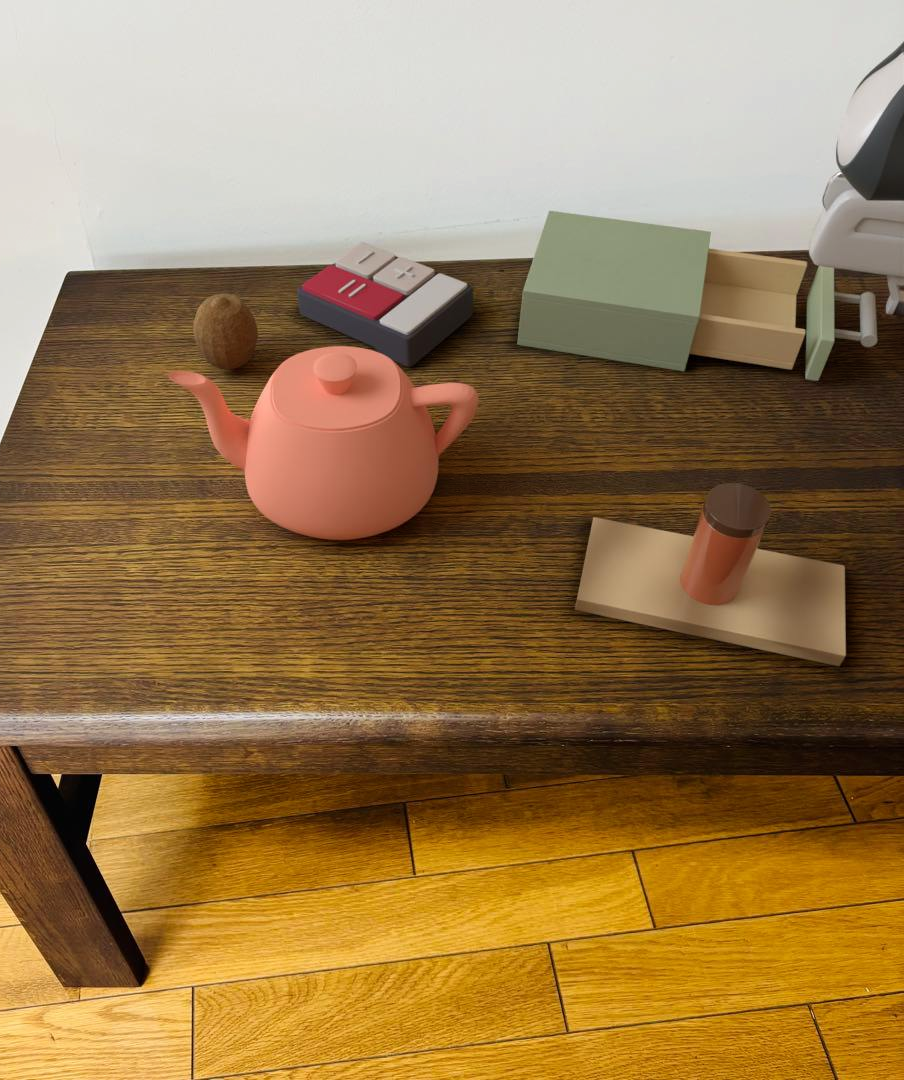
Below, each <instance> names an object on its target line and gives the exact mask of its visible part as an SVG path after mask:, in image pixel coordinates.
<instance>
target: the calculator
mask: <svg viewBox="0 0 904 1080" xmlns="http://www.w3.org/2000/svg"><path fill="white" fill-rule="evenodd" d="M296 294H297V303H298V308H299V314H300V315H301V316H303V317H304V318H308V319H309V320H311V321H314V322H317V323H318V324H320V325H323V326H325V327H327V328H330V329H332V330H334V331H336V332H338V333H341V334H343V335H346V336H348V337H349V338H352V339H354V340H357V341H359V342H362V343H363V344H366V345H368V346H370V347H371V348H374V349H375V351H376V352H379V353H381V354H383V355H385V356H387V357H389V358H390V359H391V360H393V361H394V362H395V363H398V364H400V365H402V366H404V367H407V368H411V367H413V366H415V365H416V364H417V363H418V362H420V361H421V360H422V359H423V358H425V356H427V354H429V353H430V352H431V351H433V350H434V349H435V348H436V347H437V346H439V344H441V343H442V342H443V341H445V339H447V338H448V337H449V336H450V335H451V334H453V333H454V332H455V331H456V330H458V328H460V327H462V325H463V324H464V323H465V322H467V321H468V320H469V319H470V318H472V317H473V314H474V286H473V285H472V284H470V283H468V282H465V281H462V280H460V279H457V278H455V277H452V276H449V275H446V274H444V273H441V272H438V271H436V270H435V269H434V268H431V267H429V266H426V265H424V264H422V263H419V262H416V261H414V260H412V259H409V258H406V257H403V256H397V255H396V254H395V253H393V252H390V251H388V250H384V249H382V248H380V247H377V246H374V245H372V244H370V243H366V242H364V241H363V242H360V243H359V244H357V245H356V246H355V247H353V248H352V249H350V250H348V251H347V252H346V253H345V254H343V255H342V256H341V257H339V258H338V259H336V260H335V262H334V263H332V264H329V265H327V266H326V267H325V268H324V269H322V270H321V271H320V272H318V273H317V274H316V275H314V276H313V277H311V278H309V279H308V280H307V281H305V282H304V283H303V284H302V286H300V287H299V288H298V289H297V290H296Z"/></svg>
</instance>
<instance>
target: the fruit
mask: <svg viewBox="0 0 904 1080" xmlns="http://www.w3.org/2000/svg"><path fill="white" fill-rule="evenodd" d="M192 329H193V338H194V340H195V345H196V347H197V349H198V351H199V353H200V355H201V357H203V358H204V359H205V360H206V361H207V362H208V363H209V365H211V366H212V367H215V368H216V369H217V368H218V369H221V370H234V369H238V368H240V367H242V366H244V365H246V364H247V363H248V362H249V361H250V359H251V358H252V357H253V354H254V352H255V349H256V346H257V342H258V338H259V337H258V336H259V335H258V327H257V322H256V319H255V316H254V313H253V312H252V310H251V308H250V307H249V306H248V305H247V303H246V302H245V301H243V300H242V299H240V298H239V297H237V296H236V295H233V294H230V293H217V294H213V295H212V296H210V297H207V298H206V299H205V300H204V301H202V303H201V304H200V305H199V306H198V309H197V311H196V314H195V316H194V320H193V325H192Z"/></svg>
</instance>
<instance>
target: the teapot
mask: <svg viewBox="0 0 904 1080" xmlns="http://www.w3.org/2000/svg"><path fill="white" fill-rule="evenodd" d="M167 375H168V379H169V380H171V381H172V382H173V383H175V384H177V385H179V386H181V387H182V388H184V389H185V390H187V391H189V392H190V393H191V394H192V395H194V396H195V398H196V399H197V401H198V402H199V404H200V406H201V408H202V411H203V414H204V417H205V420H206V424H207V429H208V432H209V435H210V438H211V441H212V443H213V445H214V447H215V449H216V450H217V452H218V453H219V454H220V455H221V457H222V458H223V459H224V460H226V461H227V462H229V464H231V465H233V466H235V467H237V468H239V469H240V470H242V471H244V477H245V478H244V480H245V486H246V490H247V494H248V496H249V498H250V499H251V502H252V503H253V504H254V506H255V507H256V508H257V510H258V511H259V512H260V513H261V514H262V515H263V516H264V517H266V519H268V520H269V521H271V522H272V523H274V524H276V525H277V526H279V527H281V528H284V529H285V530H288V531H290V532H293V533H296V534H299V535H301V536H302V535H303V536H305V537H311V538H314V539H321V540H328V541H329V540H330V541H349V540H351V541H352V540H357V539H364V538H365V539H366V538H368V537H373V536H377V535H380V534H382V533H383V534H384V533H386V532H388V531H390V530H393V529H395V528H398V527H399V526H401V525H403V524H404V523H406V522H408V521H409V520H411V519H412V518H413V517H415V516H416V515H417V514H418V513H419V512H420V511H421V510H422V509H423V508H424V507H425V506H426V505H427V503H428V502H429V500H430V498H431V496H432V494H433V492H434V490H435V487H436V484H437V481H438V474H439V460H440V459H439V456H440V455H441V454H442V453H443V452H444V451H445V450H447V448H448V447H449V446H450V445H452V443H454V442H455V440H456V439H458V437H459V436H460V435H461V434H462V433H463V432H464V431H465V430H466V428H467V427H469V425H470V423H471V422H472V420H473V419H474V418H475V415H476V412H477V410H478V407H479V399H480V397H479V393H478V391H477V390H476V389H475V388H474V387H473V386H472V385H469V384H467V383H462V382H446V383H445V382H444V383H443V382H442V383H434V384H428V385H422V386H415V384H414V383H413V382H412V380H411V379H410V378H409V377H408V375H407V373H405V371H404V370H403V369H402V368H401V367H400V366H399V365H398V364H397V362H396V361H393V360H391V359H390V358H389V357H387V356H385V355H383V354H381V353H379V352H378V351H377V350H372V349H368V348H364V347H357V346H347V345H334V346H333V345H332V346H326V347H325V346H324V347H318V348H317V347H316V348H313V349H312V348H311V349H309V350H304V351H302V352H299V353H296V354H294V355H292V356H290V357H288V358H287V359H285V360H284V361H283V362H282V363H281V364H280V365H278V367H277V368H276V369H275V371H274V372H273V373H272V375H271V376H270V378H269V380H268V381H267V383H266V384H265V386H264V388H263V390H262V391H261V394H260V395H259V397H258V399H257V402H256V404H255V406H254V408H253V411H252V414H251V416H250V419H246V418H243V417H240V416H238V415H236V414H235V413H233V412H232V411H231V410H230V409H229V408H228V406H227V404H226V401H225V398H224V395H223V393H222V392H221V390H220V388H219V386H218V385H217V384H216V383H215V382H214V381H213V380H212V379H210V378H208V377H207V376H205V375H203V374H200V373H197V372H192V371H186V370H174V371H171V372H169V373H168V374H167ZM441 405H443V406H444V405H445V406H450V407H451V408H450V412H449V413H448V416H447V418H446V420H445V422H444V424H443V425H442V426H441V428H440V429H439V430H438V432H437V433H436V432H435V427H434V424H433V421H432V416H431V414H430V411H429V410H428V407H429V406H430V407H431V406H441Z"/></svg>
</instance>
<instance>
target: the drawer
mask: <svg viewBox="0 0 904 1080" xmlns="http://www.w3.org/2000/svg"><path fill="white" fill-rule="evenodd" d="M807 267H808V261H806V260H805V261H804V260H798V259H790V258H785V257H783V258H782V257H776V256H770V255H769V256H768V255H767V256H766V255H760V254H754V253H746V252H745V253H744V252H739V251H731V250H724V249H715V248H709V250H708V257H707V265H706V272H705V280H704V287H703V295H702V302H701V310H700V317H699V321H698V324H697V328H696V331H695V335H694V339H693V342H692V346H691V350H690V353H689V355H695V356H701V357H707V358H713V359H714V358H715V359H719V360H726V361H727V360H728V361H731V362H732V361H734V362H738V363H739V362H740V363H744V364H745V363H746V364H753V365H759V366H764V367H765V366H766V367H771V368H776V369H777V368H778V369H784V370H789V371H791V370H793V369H794V366H795V363H796V360H797V357H798V355H799V352H800V349H801V347H802V344H803V342H804V338H805V339H806V340H805V372H804V373H805V378H804V379H805V380H808V381H814V382H815V381H816V382H819V380H820V378H821V375H822V373H823V370H824V368H825V366H826V364H827V361H828V359H829V356H830V353H831V352H832V349H833V346H834V344H835V341H836V339H835V338H837V339H843V340H850V341H857V342H860V345H862V346H863V347H865V348H872V347H874V346H875V345H877V343H878V325H877V322H878V321H877V305H876V303H877V302H876V295H875V294H874V292H871V291H865V292H862V293H861V295H860V294H859V295H858V294H852V293H846V292H845V293H844V292H837V291H835V268H831V267H823V266H818V267H817V269H816V272H815V275H814V277H813V281H812V284H811V286H810V289H809V290H808V294H807V297H806V327H805V328H806V329H805V328H799V327H796V324H797V323H796V321H797V295H798V293H799V290H800V287H801V284H802V281H803V279H804V277H805V273H806V270H807V269H808V268H807ZM835 301H836V302H842V303H843V302H844V303H849V304H858V305H859V326H860V327H859V330H860V331H853V330H846V329H839V328H835Z"/></svg>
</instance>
